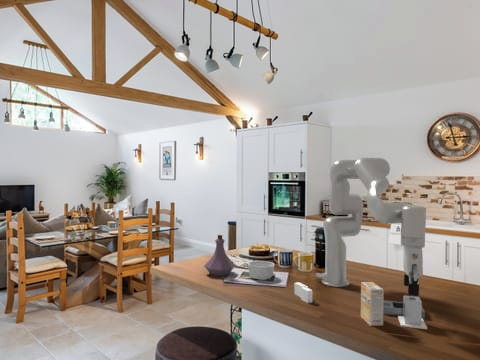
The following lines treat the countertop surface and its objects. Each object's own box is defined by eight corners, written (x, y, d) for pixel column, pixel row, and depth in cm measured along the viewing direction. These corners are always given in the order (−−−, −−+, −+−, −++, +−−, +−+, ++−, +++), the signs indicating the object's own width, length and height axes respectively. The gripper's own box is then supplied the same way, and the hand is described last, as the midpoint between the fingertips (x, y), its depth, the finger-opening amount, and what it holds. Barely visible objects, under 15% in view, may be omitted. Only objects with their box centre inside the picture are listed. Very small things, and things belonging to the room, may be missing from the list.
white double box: (290, 292, 159) (290, 279, 159) (317, 295, 156) (317, 281, 156) (286, 304, 145) (286, 290, 145) (315, 307, 142) (315, 292, 142)
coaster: (400, 327, 122) (401, 324, 122) (397, 318, 130) (397, 315, 130) (427, 330, 120) (427, 327, 120) (422, 321, 127) (422, 318, 127)
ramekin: (278, 276, 183) (279, 262, 183) (266, 283, 172) (266, 268, 172) (256, 272, 190) (256, 259, 190) (242, 278, 179) (243, 264, 179)
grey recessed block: (382, 315, 133) (382, 307, 133) (380, 307, 140) (380, 300, 140) (424, 320, 128) (424, 311, 128) (420, 312, 136) (420, 303, 136)
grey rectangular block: (421, 325, 122) (421, 301, 121) (405, 323, 123) (405, 299, 123) (418, 319, 126) (418, 296, 126) (403, 317, 128) (403, 295, 128)
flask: (217, 268, 199) (217, 231, 199) (241, 272, 189) (242, 234, 189) (197, 274, 186) (197, 235, 185) (222, 280, 176) (222, 239, 176)
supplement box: (359, 318, 130) (360, 281, 130) (372, 317, 131) (373, 281, 130) (370, 327, 122) (370, 289, 122) (383, 327, 122) (384, 288, 122)
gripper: (430, 247, 115) (428, 300, 116) (420, 237, 132) (418, 283, 132) (404, 245, 117) (402, 297, 118) (397, 236, 134) (396, 281, 135)
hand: (410, 290), depth 125 cm, fingers open, 9 cm apart
